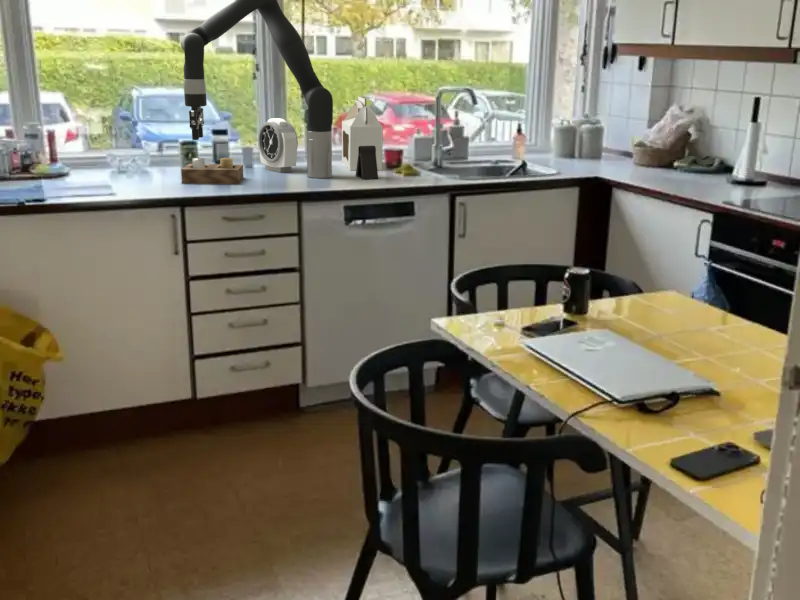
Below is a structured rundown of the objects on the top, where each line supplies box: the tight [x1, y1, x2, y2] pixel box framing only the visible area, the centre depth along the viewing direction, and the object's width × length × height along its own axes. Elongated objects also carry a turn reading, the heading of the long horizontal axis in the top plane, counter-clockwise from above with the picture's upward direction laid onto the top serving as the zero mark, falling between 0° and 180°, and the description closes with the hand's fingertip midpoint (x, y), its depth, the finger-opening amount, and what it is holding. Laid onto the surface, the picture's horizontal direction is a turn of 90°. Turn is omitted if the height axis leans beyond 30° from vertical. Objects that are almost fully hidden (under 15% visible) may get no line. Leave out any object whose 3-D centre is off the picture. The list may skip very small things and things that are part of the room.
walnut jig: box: [180, 157, 245, 185], centre depth 311 cm, size 20×14×8 cm
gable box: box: [341, 96, 384, 172], centre depth 350 cm, size 22×13×28 cm, turn 12°
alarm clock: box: [257, 117, 299, 173], centre depth 337 cm, size 18×8×20 cm, turn 42°
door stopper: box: [355, 146, 379, 181], centre depth 325 cm, size 9×6×12 cm, turn 22°
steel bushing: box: [191, 157, 206, 168], centre depth 311 cm, size 4×4×8 cm
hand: (197, 138), depth 307 cm, fingers open, 8 cm apart
